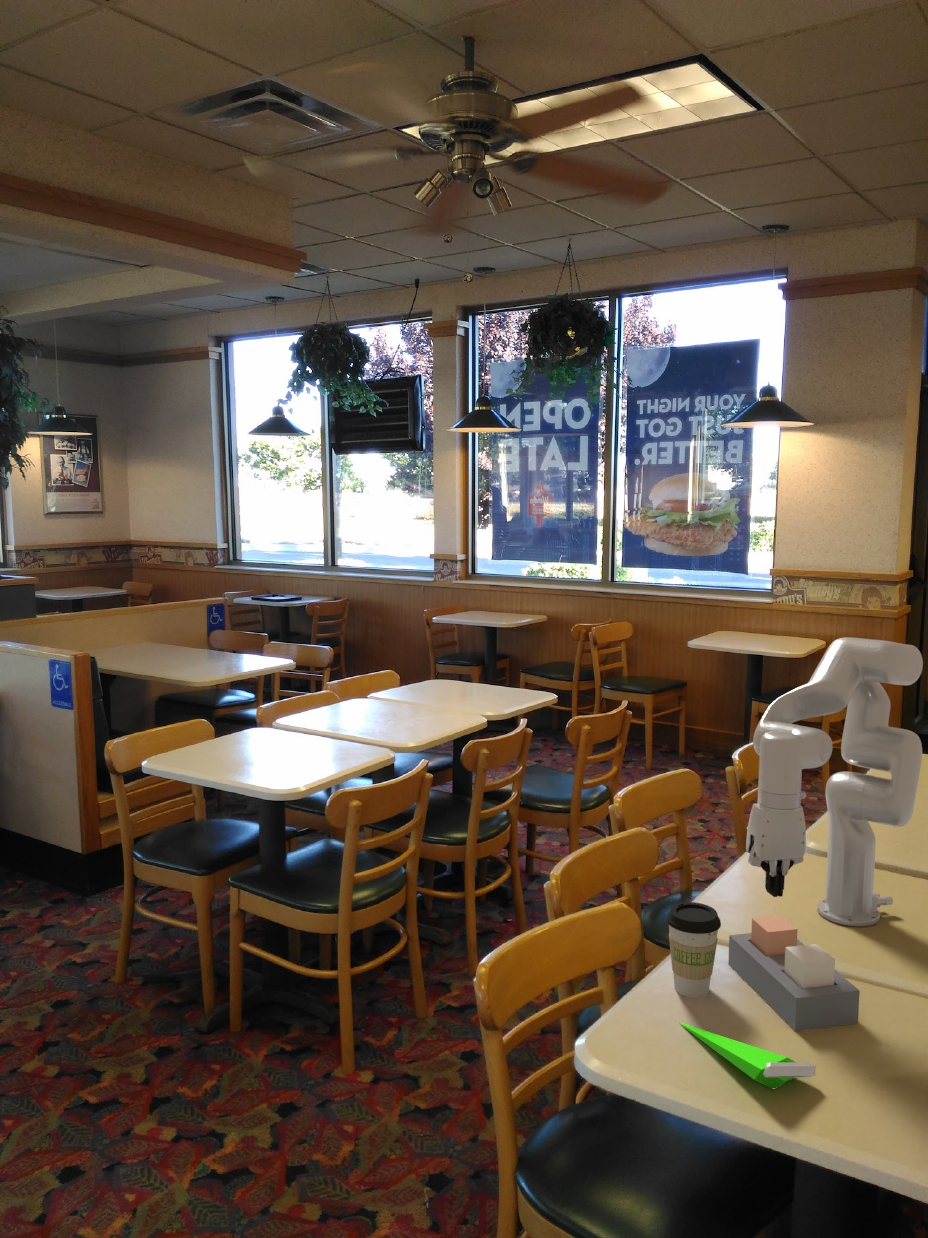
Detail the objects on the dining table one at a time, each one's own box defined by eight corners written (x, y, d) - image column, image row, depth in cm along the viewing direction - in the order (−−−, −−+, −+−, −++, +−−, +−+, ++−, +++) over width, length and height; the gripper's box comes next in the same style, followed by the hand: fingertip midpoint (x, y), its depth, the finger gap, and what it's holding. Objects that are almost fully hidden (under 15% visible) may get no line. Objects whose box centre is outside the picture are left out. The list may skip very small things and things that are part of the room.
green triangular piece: (649, 1043, 164) (764, 1098, 142) (654, 1010, 164) (768, 1060, 143) (696, 1043, 169) (814, 1097, 148) (700, 1012, 170) (818, 1060, 149)
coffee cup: (688, 1008, 171) (690, 928, 169) (653, 983, 180) (655, 907, 178) (730, 994, 175) (732, 916, 174) (694, 971, 184) (696, 896, 182)
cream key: (814, 975, 173) (815, 943, 173) (833, 992, 167) (835, 959, 167) (784, 978, 172) (785, 947, 171) (802, 995, 166) (803, 963, 165)
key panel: (784, 958, 189) (785, 929, 188) (858, 1023, 166) (859, 990, 165) (728, 964, 187) (729, 935, 186) (795, 1031, 163) (796, 998, 163)
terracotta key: (779, 945, 185) (780, 915, 184) (796, 959, 179) (797, 929, 178) (750, 948, 184) (751, 918, 183) (767, 963, 178) (768, 932, 177)
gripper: (804, 791, 183) (799, 883, 185) (732, 795, 180) (728, 889, 182) (826, 802, 175) (821, 899, 177) (751, 807, 172) (747, 905, 174)
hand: (774, 894), depth 179 cm, fingers closed
